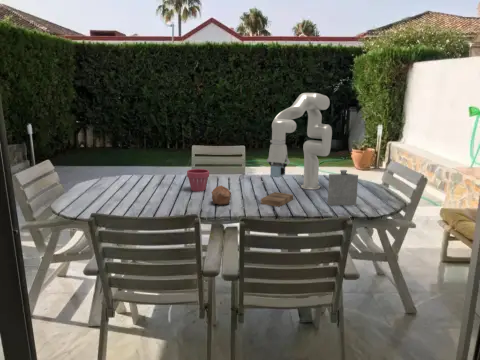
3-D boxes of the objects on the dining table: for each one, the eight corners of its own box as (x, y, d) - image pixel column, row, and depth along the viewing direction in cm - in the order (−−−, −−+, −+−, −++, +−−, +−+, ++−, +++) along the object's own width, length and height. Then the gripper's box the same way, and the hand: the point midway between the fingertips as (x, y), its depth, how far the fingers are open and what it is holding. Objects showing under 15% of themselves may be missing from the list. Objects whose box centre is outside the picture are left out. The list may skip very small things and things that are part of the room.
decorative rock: (211, 200, 239) (211, 184, 237) (230, 200, 240) (230, 183, 238) (211, 206, 227) (211, 189, 224) (231, 206, 227) (231, 189, 225)
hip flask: (327, 204, 230) (329, 170, 226) (327, 202, 234) (328, 169, 230) (356, 205, 228) (358, 171, 224) (355, 203, 232) (357, 169, 228)
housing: (270, 176, 231) (270, 164, 229) (277, 173, 238) (277, 162, 237) (278, 177, 228) (278, 165, 227) (285, 174, 236) (285, 163, 234)
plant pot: (211, 187, 270) (210, 168, 267) (207, 193, 256) (207, 173, 253) (190, 187, 271) (189, 168, 268) (185, 192, 257) (184, 172, 255)
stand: (274, 196, 247) (275, 191, 247) (293, 199, 241) (293, 194, 241) (260, 203, 232) (261, 198, 232) (279, 206, 226) (280, 201, 226)
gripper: (262, 142, 230) (261, 173, 234) (289, 144, 222) (288, 176, 226) (268, 140, 237) (267, 171, 241) (295, 142, 228) (294, 174, 232)
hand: (277, 173), depth 233 cm, fingers closed on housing, 5 cm apart
